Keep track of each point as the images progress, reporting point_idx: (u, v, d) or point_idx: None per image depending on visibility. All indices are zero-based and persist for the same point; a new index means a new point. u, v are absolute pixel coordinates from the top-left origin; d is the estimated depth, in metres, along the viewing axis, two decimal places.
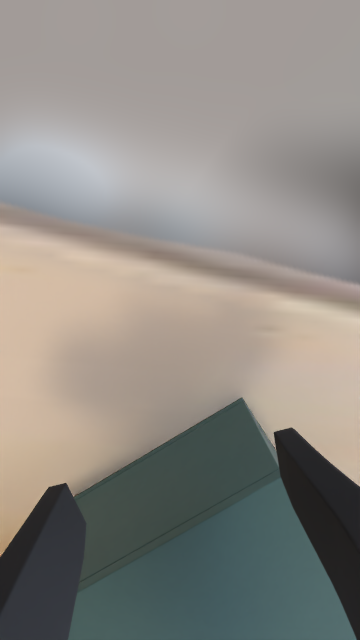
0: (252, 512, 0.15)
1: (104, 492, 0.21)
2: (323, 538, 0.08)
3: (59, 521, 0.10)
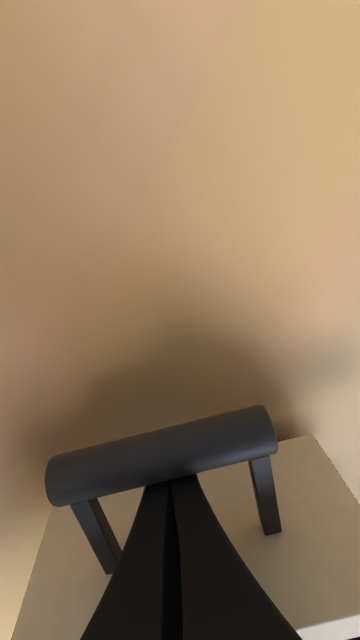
0: None
1: None
2: None
3: None
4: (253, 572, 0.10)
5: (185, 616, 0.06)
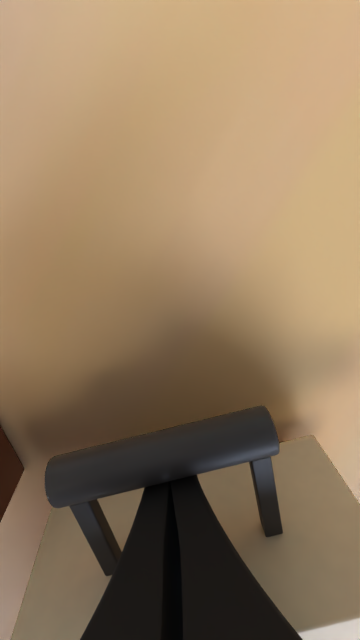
0: None
1: None
2: None
3: None
4: (254, 574, 0.10)
5: (185, 616, 0.06)
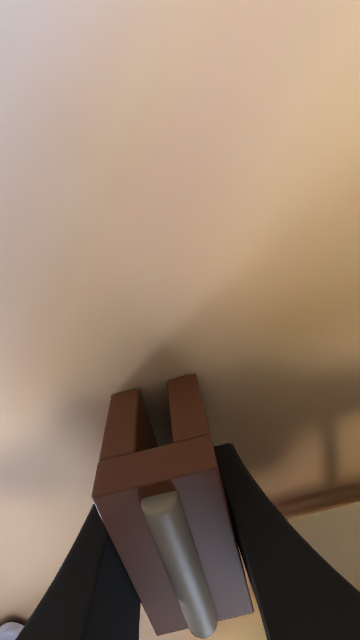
0: None
1: None
2: (245, 557, 0.08)
3: None
4: None
5: (262, 597, 0.06)
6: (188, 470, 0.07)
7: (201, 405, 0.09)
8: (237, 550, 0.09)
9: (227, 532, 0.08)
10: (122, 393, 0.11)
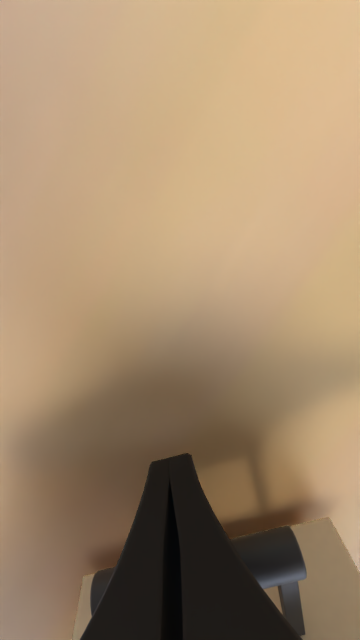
0: None
1: None
2: None
3: None
4: None
5: (185, 616, 0.06)
6: None
7: None
8: None
9: None
10: None
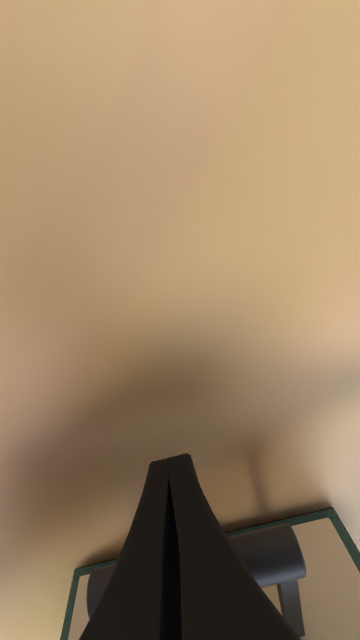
0: None
1: None
2: None
3: None
4: None
5: (184, 616, 0.06)
6: None
7: None
8: None
9: None
10: None
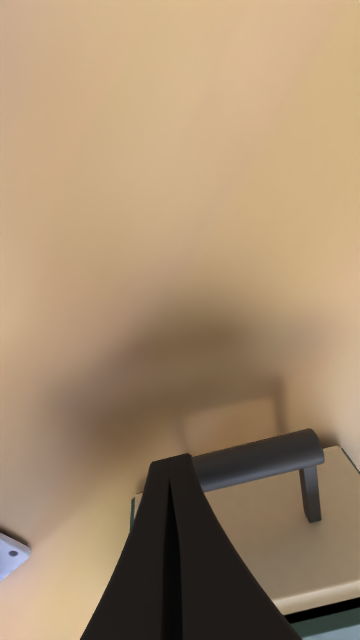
0: None
1: None
2: None
3: None
4: (303, 548, 0.14)
5: (185, 616, 0.06)
6: None
7: None
8: None
9: (304, 612, 0.15)
10: None
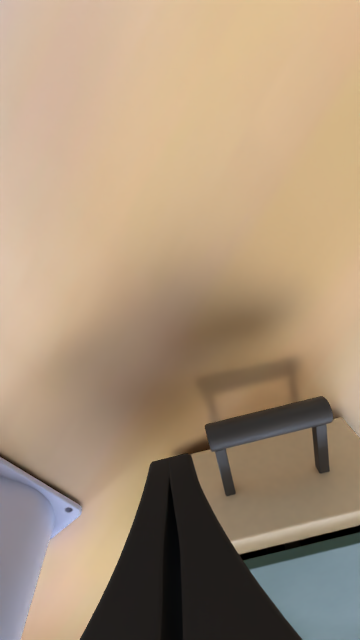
0: None
1: None
2: None
3: None
4: (315, 491, 0.18)
5: (185, 616, 0.06)
6: None
7: None
8: None
9: None
10: None
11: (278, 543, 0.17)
